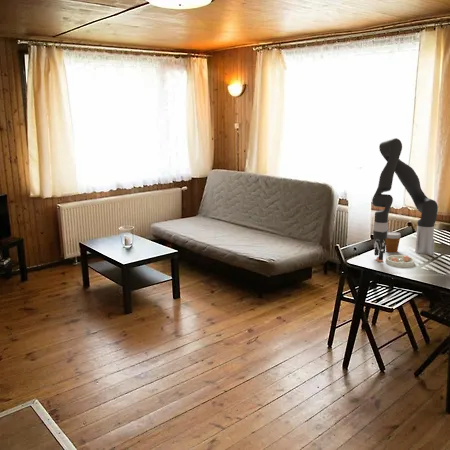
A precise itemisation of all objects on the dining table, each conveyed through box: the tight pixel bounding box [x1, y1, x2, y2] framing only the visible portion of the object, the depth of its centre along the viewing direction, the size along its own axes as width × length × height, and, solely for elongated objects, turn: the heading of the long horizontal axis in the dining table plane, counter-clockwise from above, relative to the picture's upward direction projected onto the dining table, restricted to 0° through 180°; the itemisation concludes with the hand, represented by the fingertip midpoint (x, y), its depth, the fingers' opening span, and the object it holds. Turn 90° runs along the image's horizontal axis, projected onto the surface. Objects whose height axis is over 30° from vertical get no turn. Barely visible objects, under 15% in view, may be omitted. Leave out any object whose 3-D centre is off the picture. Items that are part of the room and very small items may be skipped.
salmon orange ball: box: [403, 255, 410, 262], centre depth 262 cm, size 4×4×4 cm
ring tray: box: [385, 254, 415, 268], centre depth 261 cm, size 15×15×3 cm
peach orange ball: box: [375, 255, 384, 263], centre depth 265 cm, size 4×4×4 cm
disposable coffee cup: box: [384, 231, 402, 254], centre depth 282 cm, size 10×10×12 cm
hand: (378, 257), depth 265 cm, fingers open, 8 cm apart
